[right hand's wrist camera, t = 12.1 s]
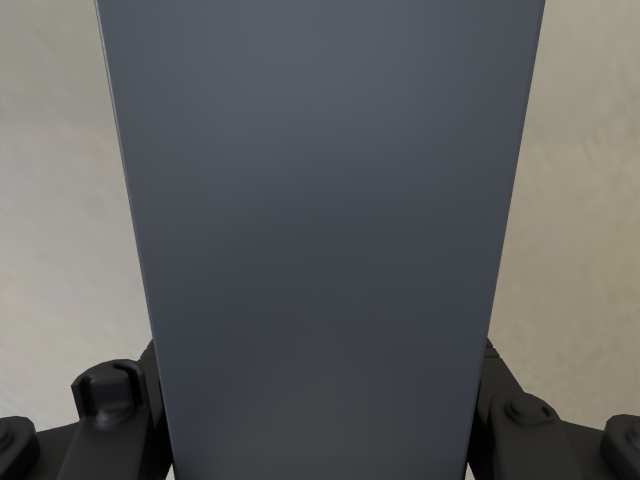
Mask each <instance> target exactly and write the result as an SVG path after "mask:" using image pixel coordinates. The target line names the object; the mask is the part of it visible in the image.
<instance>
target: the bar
mask: <svg viewBox="0 0 640 480" xmlns="http://www.w3.org/2000/svg"><path fill="white" fill-rule="evenodd" d="M94 2H95V8H96V14H97V19H98V25H99V31H100V37H101V42H102V48H103V54H104V60H105V65H106V71H107V77H108V83H109V89H110V94H111V100H112V106H113V112H114V117H115V123H116V129H117V135H118V140H119V146H120V152H121V158H122V164H123V169H124V175H125V181H126V187H127V192H128V198H129V204H130V210H131V215H132V221H133V227H134V233H135V238H136V244H137V250H138V256H139V262H140V267H141V273H142V279H143V285H144V290H145V296H146V302H147V308H148V313H149V319H150V325H151V331H152V336H153V342H154V348H155V354H156V360H157V365H158V371H159V377H160V383H161V388H162V394H163V400H164V406H165V411H166V417H167V423H168V429H169V434H170V440H171V446H172V452H173V458H174V463H175V469H176V475H177V480H463V474H464V468H465V462H466V457H467V451H468V445H469V439H470V433H471V428H472V422H473V416H474V410H475V405H476V399H477V393H478V387H479V381H480V376H481V370H482V364H483V358H484V353H485V347H486V341H487V335H488V329H489V324H490V318H491V312H492V306H493V301H494V295H495V289H496V283H497V277H498V272H499V266H500V260H501V254H502V249H503V243H504V237H505V231H506V225H507V220H508V214H509V208H510V202H511V197H512V191H513V185H514V179H515V173H516V168H517V162H518V156H519V150H520V145H521V139H522V133H523V127H524V121H525V116H526V110H527V104H528V98H529V93H530V87H531V81H532V75H533V69H534V64H535V58H536V52H537V46H538V41H539V35H540V29H541V23H542V17H543V12H544V6H545V0H94Z"/></svg>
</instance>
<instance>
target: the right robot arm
mask: <svg viewBox="0 0 640 480" xmlns="http://www.w3.org/2000/svg"><path fill="white" fill-rule="evenodd" d="M71 388H72V392H73V396H74V400H75V403H76V407H77V411H78V415H79V418H80V420H79V422H76V423H73V424H70V425H66V426H62V427H58V428H53V429H49V430H45V431H40V432H36V430H35V427H34V424H33V422H32V421H30V420H29V419H28V418H26V417H20V416H12V417H5V418H0V480H165V479H166V477H167V474H168V472H169V469H170V467H171V464H172V465H173V471H174V477H175V480H177V475H176V469H175V463H174V458H173V452H172V446H171V440H170V434H169V429H168V423H167V417H166V411H165V406H164V400H163V394H162V388H161V383H160V377H159V371H158V365H157V360H156V354H155V348H154V342H153V339H152V340H151V342H150V343H149V345H148V346H147V349H145V351H144V352H143V354H142V355H141V357H140V360H138V361H133V360H129V359H116V360H111V361H107V362H103V363H100V364H98V365H96V366H94V367H91V368H89V369H88V370H86V371H85V372H83V373H82V374H81V375H79V376H78V377H77V378H76V380H75V381H74V382H73V384H72V385H71ZM468 463H469V465H470V468H471V470H472V473H473V475H474V478H475V480H640V417H639V416H634V415H627V414H622V415H615V416H612V417H611V418H610V419H609V420H608V421H607V422H606V425H605V429H604V431H603V430H598V429H594V428H590V427H585V426H581V425H577V424H572V423H569V422H566V421H563V420H561V419H560V418H559V416H558V415H557V413H556V411H555V410H554V409H553V408H552V407H551V406H550V405H548V404H547V403H546V402H545V401H543V400H541V399H539V398H538V397H536V396H534V395H532V394H528V393H525V392H524V391H523V390H522V388H521V387H520V385H519V384H518V382H517V381H516V379H515V378H514V376H513V375H512V373H511V372H510V370H509V369H508V367H507V366H506V364H505V363H504V361H503V360H502V358H500V355H499V354H498V352H497V351H496V349H495V348H493V345H492V343H491V342H490V340H489V339H488V337H487V341H486V347H485V353H484V358H483V364H482V370H481V376H480V381H479V387H478V393H477V399H476V405H475V410H474V416H473V422H472V428H471V433H470V439H469V445H468V451H467V457H466V462H465V468H464V474H463V480H465V475H466V470H467V464H468Z"/></svg>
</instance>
